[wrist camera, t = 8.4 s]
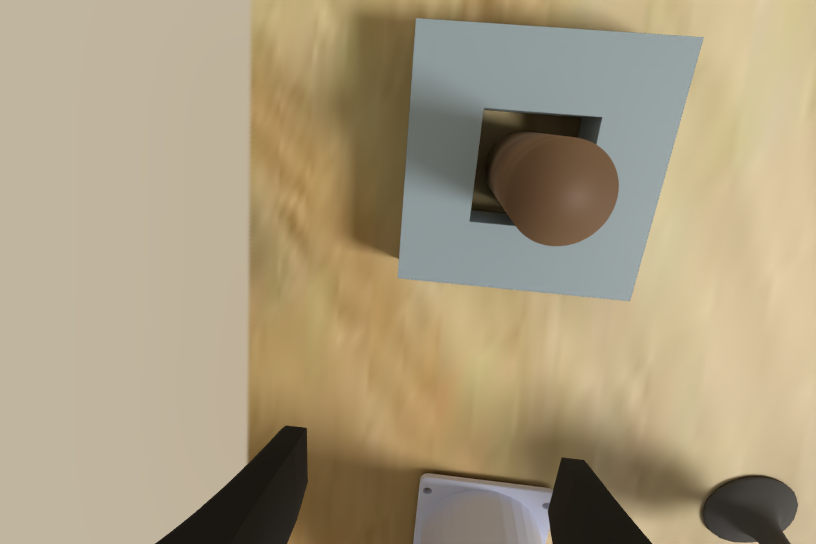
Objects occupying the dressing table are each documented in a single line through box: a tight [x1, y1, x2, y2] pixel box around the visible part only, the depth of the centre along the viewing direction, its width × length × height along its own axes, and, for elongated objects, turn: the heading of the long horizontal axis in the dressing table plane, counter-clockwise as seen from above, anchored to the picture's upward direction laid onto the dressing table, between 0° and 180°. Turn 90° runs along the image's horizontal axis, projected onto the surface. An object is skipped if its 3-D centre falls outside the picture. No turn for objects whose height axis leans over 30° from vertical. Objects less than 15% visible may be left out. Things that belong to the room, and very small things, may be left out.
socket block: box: [398, 18, 704, 301], centre depth 18 cm, size 10×10×2 cm
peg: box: [485, 131, 619, 246], centre depth 16 cm, size 3×3×7 cm
